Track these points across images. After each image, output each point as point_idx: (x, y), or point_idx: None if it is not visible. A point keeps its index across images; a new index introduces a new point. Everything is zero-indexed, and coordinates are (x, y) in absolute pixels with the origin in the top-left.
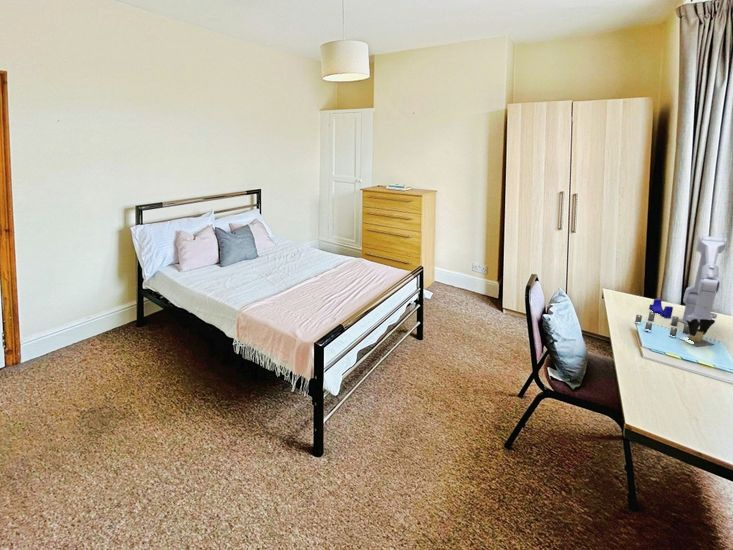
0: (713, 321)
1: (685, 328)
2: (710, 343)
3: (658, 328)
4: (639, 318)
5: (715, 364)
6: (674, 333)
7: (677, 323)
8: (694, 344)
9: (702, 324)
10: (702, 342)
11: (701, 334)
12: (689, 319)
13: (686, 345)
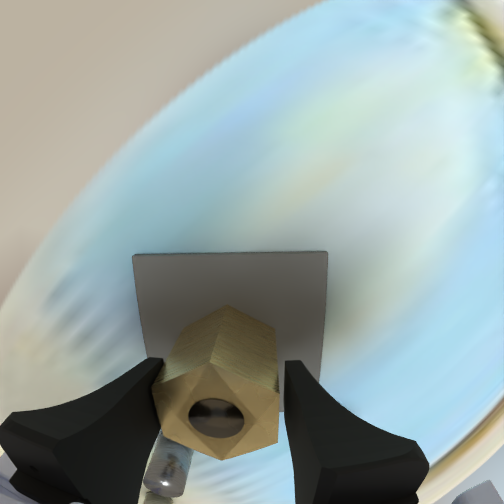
0: (24, 434)
1: (186, 470)
2: (150, 271)
3: (287, 497)
4: None
5: (433, 12)
6: None
7: (147, 501)
8: (317, 287)
9: (133, 460)
10: (202, 305)
11: (224, 350)
12: (500, 501)
13: (379, 295)
